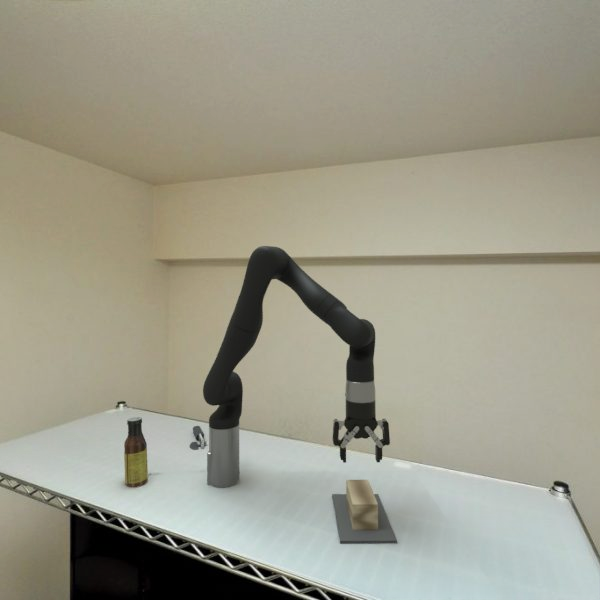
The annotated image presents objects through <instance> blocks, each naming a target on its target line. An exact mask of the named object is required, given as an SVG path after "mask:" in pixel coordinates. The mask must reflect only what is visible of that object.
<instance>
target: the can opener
mask: <svg viewBox="0 0 600 600" xmlns="http://www.w3.org/2000/svg"><path fill="white" fill-rule="evenodd" d="M192 431H193V433H194V435H195V438H196V440H197V441H192V442H190V444H189V449H190V450H193V451H199V448H201V449H202V450H204V448H205V445H207V442H208V440H207V439H204V438H205V433H204V431H203V429H202V428H201V426H200V425H196V426H195V425H194V426H193V427H192ZM198 442H199V443H200V444H198Z"/></svg>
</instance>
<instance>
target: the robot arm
mask: <svg viewBox="0 0 600 600" xmlns="http://www.w3.org/2000/svg"><path fill="white" fill-rule="evenodd" d="M272 280H277V281H279V282H280V283H282V284H284V285H285V286H287V287H289V288H290V289H292V291H294V293H295V294H296V295H297V296H298V297H299V299H300V300H301V302H302V303H303V304H304V306H305V307H306V308H307V309H308V310H309V312H311V313H312V314H314V315H315V316H316V317H317V318H318V319H320V320H321V321H322V322H323V323H325V324H327V325H328V326H329V327H330V328H331V330H332V331H333V332H334V333H335V334H336V335H337V336H338V337H339V338H340V340H342V341H343V342H344V343H345V344H347V345H348V346H349V349H348V350H349V354H348V357H347V360H346V363H345V364H346V365H345V366H346V368H345V374H346V375H345V377H346V380H345V382H346V383H345V392H344V396H345V419H344V420H338V419H336V418H335V419H333V425H332V443H333V445H334V446H335V447H337V446H338V447H339V457H340V461H342V463H344V464H345V463H347V447H346V446H347V445H348V443H350V442H351V441H352V440H353V439H356V440H359V439H368V438H371V440H372V441H373V442H374V443H375V444H374V445H375V451H374V452H375V453H374V455H375V461H376V463H381V460H382V461H383V447H385V446H390V445H391V438H390V427H389V426H390V425H389V422H388V420H387V419H386V418H382V419H379V420H378V419H377V417H376V414H377V413H376V386H375V384H376V383H375V365H374V363H375V362H374V356H375V350H376V349H375V347H376V330H375V327H374V325H373V323H372V322H371V321H370V320H367V319H366V318H359V317H357V316H356V315H355V314H354V313H352V312H351V311H350V310H349V309H348V308H347V305H346V304H344V303H343V302H342V301H341V299H339V298H337V297H336V296H335V295H333V294H332V293H331V292H329V291H328V290H327V289H326V288H325V287H323V286H322V285H321V284H320V283H318V282H317V281H315V280H314V279H313V278H312V277H311V276H309V274H307V273H306V272H305V270H303V268H301V267H300V266H299V265H298V263H297V262H296V261H295V260H294V259H293V258H292V257H291V256H290V255H289V254H288V253H287V252H286V251H285V250H284V249H283V248H281V247H278V246H270V245H261V246H258V247H257V248H255V249H254V250H253V252H252V253H251V254H250V257H249V259H248V262H247V267H246V270H245V275H244V278H243V283H242V286H241V290H240V293H239V295H238V297H237V300H236V303H235V306H234V309H233V312H232V315H231V316H230V319H229V322H228V325H227V327H226V331H225V334H224V337H223V340H222V342H221V344H220V348H219V350H218V352H217V355H216V357H215V360H213V363H212V365H211V367H210V370H209V372H208V374H207V376H206V377H205V380H204V383H203V387H202V395H203V399H204V401H205V402H206V404H208V405H209V406H215V407H216V406H218V407H217V409H216V410H215V411H214V412H212V413H211V414H210V416H209V417H208V451H207V454H206V458H207V459H206V461H207V462H206V472H207V473H206V474H207V475H206V476H207V477H206V479H207V480H206V481H207V482H206V485H208V486H212V487H215V488H228V487H230V486H234V485H236V484H237V483H238V482H239V481H240V419H241V416H242V411H243V393H244V391H243V390H244V387H243V381H242V378H241V377H240V375H239V374H238V373H237V372H235V371H234V370H236V369H235V368H236V367H237V366H238V365H239V363H240V362H241V361H242V360H244V358H245V357H246V356H247V354H248V353H249V352H251V350H252V348H254V346H255V344H256V341H257V339H258V336H259V335H260V332H261V329H262V327H263V321H264V314H263V313H264V312H263V304H264V299H265V295H266V293H267V290H268V287H269V286H270V283H271V281H272ZM343 426H344V427H345V429H346V431H345V433H344V434H343V436H342V438H340V439H339V434H340V433H339V431H341V430H342V429H343ZM378 426H379V428H380V430H381V431H382V432H381V433H382V438H381V439H379V437H378V436H377V434H376V433H375V430H376V429H377V428H378Z"/></svg>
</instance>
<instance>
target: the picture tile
mask: <svg viewBox="0 0 600 600" xmlns="http://www.w3.org/2000/svg"><path fill="white" fill-rule="evenodd" d="M331 495H332V496H331V498H332V503H333V509H334V515H335V523H336V527H337V532H338V538H339V544H342V545H343V544H348V545H349V544H351V545H352V544H398V540H397V537H396V534H395V532H394V530H393V526H392V524H391V522H390V520H389V517H388V514H387V512H386V510H385V507H384V505H383V502H382V500H381V498H380V495H379V493H374V496H375V498H376V501H377V503H378V530H353V528H352V524H351V520H350V515H349V511H348V507H347V503H346V493H333V494H331Z"/></svg>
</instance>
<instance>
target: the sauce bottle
mask: <svg viewBox="0 0 600 600" xmlns="http://www.w3.org/2000/svg"><path fill="white" fill-rule="evenodd" d="M126 422H127V423H126V424H127V437H126V439H125V441H124V452H123V453H124V482H125V486H126V487H128V488H139V487H142V486H144V485H146V484H147V482H148V477H149V475H148V474H149V472H148V447H147V441H146V439H145V436H144V433H143V430H142V427H143V426H142V423H143V419H142V417H139V416H134V417H131V418H128V419H127V421H126Z"/></svg>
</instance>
